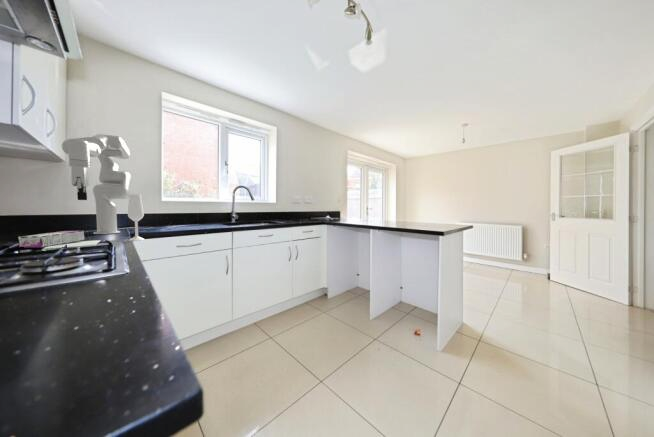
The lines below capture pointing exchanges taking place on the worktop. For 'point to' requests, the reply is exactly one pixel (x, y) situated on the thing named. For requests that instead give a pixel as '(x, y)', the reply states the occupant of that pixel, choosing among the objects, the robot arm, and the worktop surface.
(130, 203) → the champagne flute
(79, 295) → the worktop surface
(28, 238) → the candy bar box
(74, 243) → the mat
